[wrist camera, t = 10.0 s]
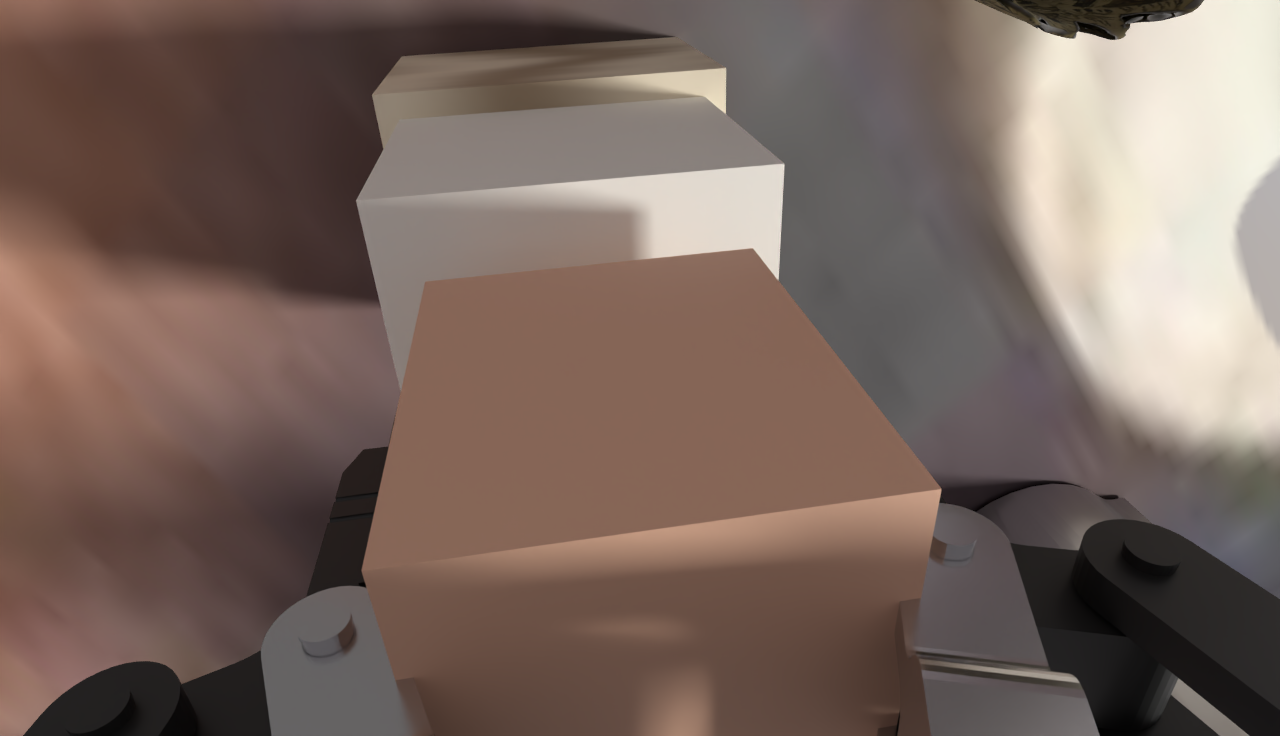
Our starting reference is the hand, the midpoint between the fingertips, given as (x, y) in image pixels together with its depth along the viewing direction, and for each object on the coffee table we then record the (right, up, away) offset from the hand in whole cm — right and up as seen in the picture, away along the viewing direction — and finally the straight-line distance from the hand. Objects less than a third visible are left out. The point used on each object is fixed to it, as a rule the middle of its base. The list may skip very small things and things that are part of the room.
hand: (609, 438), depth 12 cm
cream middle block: (-1, +4, +7) cm, 8 cm away
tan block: (0, +1, +1) cm, 1 cm away
